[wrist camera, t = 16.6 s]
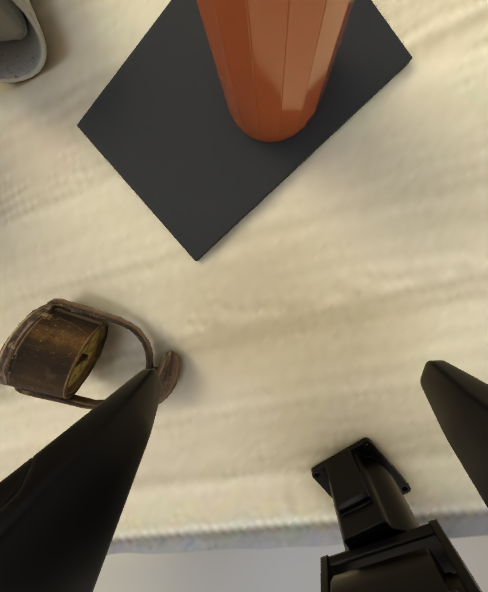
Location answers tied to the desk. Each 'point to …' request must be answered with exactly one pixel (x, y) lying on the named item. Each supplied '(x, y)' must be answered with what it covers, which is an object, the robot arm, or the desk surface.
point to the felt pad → (219, 122)
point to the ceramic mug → (20, 42)
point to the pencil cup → (273, 59)
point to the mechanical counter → (68, 353)
